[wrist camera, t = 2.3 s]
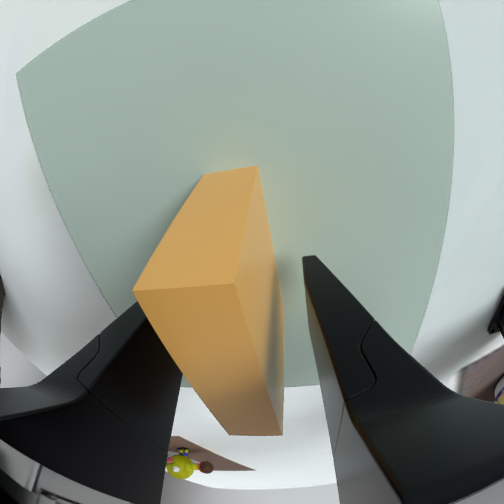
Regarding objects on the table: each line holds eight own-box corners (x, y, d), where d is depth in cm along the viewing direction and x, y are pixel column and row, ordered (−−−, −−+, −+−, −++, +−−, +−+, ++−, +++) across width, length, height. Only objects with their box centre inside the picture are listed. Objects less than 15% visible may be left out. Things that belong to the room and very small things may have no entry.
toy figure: (200, 440, 39) (194, 476, 34) (225, 449, 41) (220, 482, 36) (149, 445, 47) (142, 471, 42) (170, 453, 49) (164, 479, 44)
